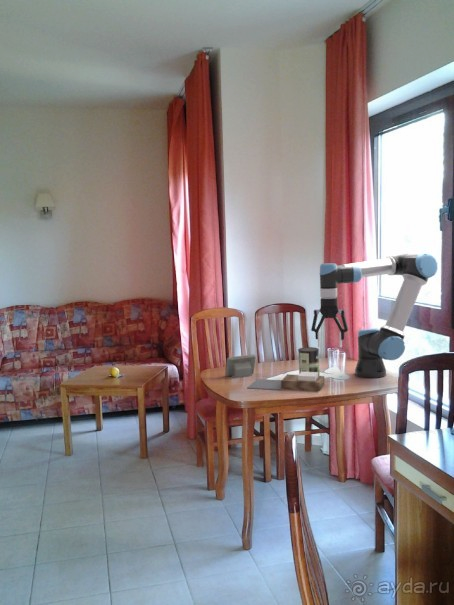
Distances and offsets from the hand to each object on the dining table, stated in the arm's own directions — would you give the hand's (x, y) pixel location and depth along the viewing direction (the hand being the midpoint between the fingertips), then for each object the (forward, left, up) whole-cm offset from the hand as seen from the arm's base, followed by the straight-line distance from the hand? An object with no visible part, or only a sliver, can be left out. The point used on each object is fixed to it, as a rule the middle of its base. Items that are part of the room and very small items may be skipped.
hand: (330, 346), depth 241 cm
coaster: (+11, 0, -15) cm, 19 cm away
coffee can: (+14, -19, -20) cm, 31 cm away
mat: (+30, 0, -19) cm, 36 cm away
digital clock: (+49, -15, -20) cm, 55 cm away
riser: (+13, 0, -19) cm, 23 cm away
